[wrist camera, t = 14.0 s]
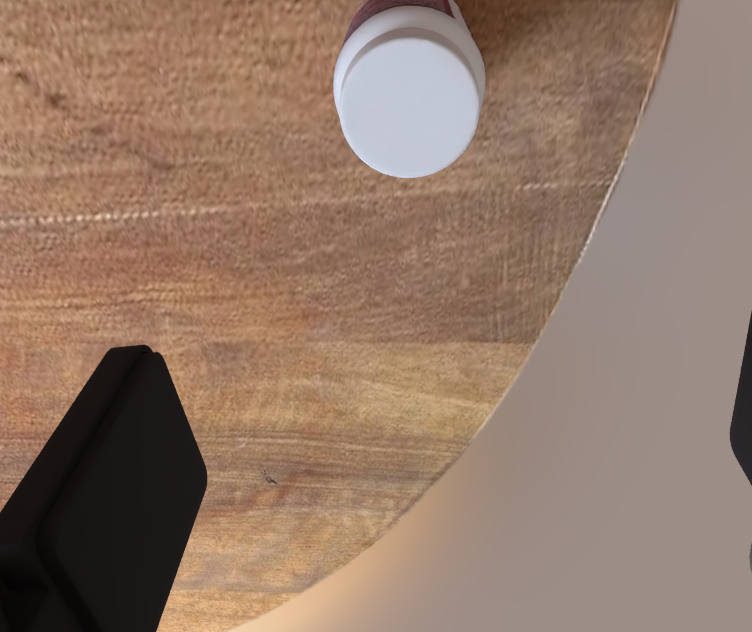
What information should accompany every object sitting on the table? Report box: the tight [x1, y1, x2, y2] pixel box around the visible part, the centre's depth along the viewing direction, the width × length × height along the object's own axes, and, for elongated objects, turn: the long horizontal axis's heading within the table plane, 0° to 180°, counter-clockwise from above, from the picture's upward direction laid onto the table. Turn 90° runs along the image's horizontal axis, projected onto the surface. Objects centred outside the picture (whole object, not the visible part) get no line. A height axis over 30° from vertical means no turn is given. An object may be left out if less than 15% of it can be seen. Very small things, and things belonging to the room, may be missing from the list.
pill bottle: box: [333, 0, 486, 178], centre depth 22 cm, size 5×5×8 cm
